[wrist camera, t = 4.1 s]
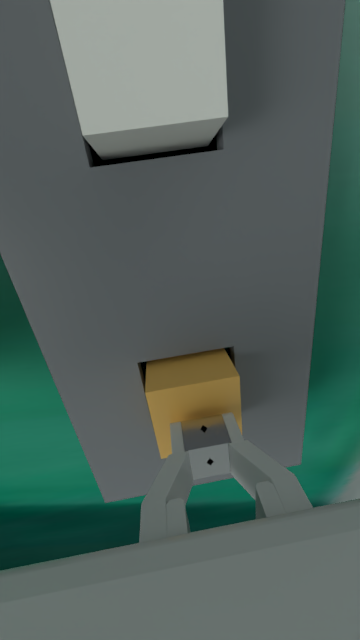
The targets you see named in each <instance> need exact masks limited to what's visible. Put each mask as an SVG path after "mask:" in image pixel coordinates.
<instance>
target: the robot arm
mask: <svg viewBox="0 0 360 640" xmlns="http://www.w3.org/2000/svg"><path fill="white" fill-rule="evenodd" d="M170 434H171V447H172V454H170V455H168V457H167V459H166V461H165V463H164V464H163V466H162V468H161V470H160V472H159V473H158V475H157V477H156V479H155V481H154V482H153V484H152V486H151V488H150V490H149V491H148V493H147V495H146V497H145V499H144V500H143V502H142V504H141V521H140V540H139V543H137V544H132V545H127V546H122V547H117V548H112V549H107V550H102V551H97V552H92V553H87V554H82V555H77V556H72V557H67V558H62V559H57V560H52V561H47V562H42V563H37V564H32V565H27V566H22V567H17V568H12V569H7V570H2V571H0V640H360V499H356V500H350V501H346V502H341V503H335V504H330V505H325V506H320V507H315V508H313V507H312V505H311V503H310V502H309V500H308V498H307V496H306V494H305V493H304V491H303V489H302V487H301V485H300V484H299V482H298V480H297V478H296V476H295V475H294V474H293V473H291V472H290V471H289V470H287V469H286V468H285V467H283V466H282V465H281V464H279V463H278V462H277V461H275V460H274V459H272V458H271V457H270V456H268V455H267V454H266V453H264V452H263V451H262V450H260V449H259V448H258V447H256V446H255V445H253V444H252V443H251V442H249V441H248V440H245V441H244V439H243V436H242V434H241V431H240V429H239V427H238V424H237V422H236V419H235V417H234V415H233V413H232V412H230V413H224V414H219V415H214V416H209V417H204V418H199V419H193V420H186V421H181V422H175V423H170ZM227 473H231V474H232V476H233V477H234V478H235V479H236V480H237V481H238V482H239V483H240V484H241V485H242V486H243V487H244V488H245V489H246V491H247V492H248V493H249V494H250V495H251V496H252V497H253V498H254V499H255V500H256V520H251V521H246V522H241V523H236V524H231V525H226V526H221V527H216V528H211V529H206V530H201V531H196V532H190V527H189V523H188V518H187V513H186V508H185V504H186V502H187V499H188V496H189V493H190V490H191V487H192V484H193V482H194V481H193V480H196V479H201V478H205V477H209V476H215V475H221V474H227Z"/></svg>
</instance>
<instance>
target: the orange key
mask: <svg viewBox="0 0 360 640" xmlns="http://www.w3.org/2000/svg"><path fill="white" fill-rule="evenodd" d="M145 395H146V399H147V403H148V407H149V411H150V415H151V419H152V423H153V428H154V432H155V436H156V440H157V444H158V448H159V452H160V456H161V459H164V458H167V457H168V455H170V454H172V447H171V434H170V423H175V422H181V421H186V420H193V419H199V418H204V417H209V416H214V415H219V414H224V413H230V412H232V413H233V415H234V417H235V419H236V422H237V424H238V427H239V429H240V431H241V434H242V417H241V395H240V376H239V374H238V372H237V370H236V368H235V367H234V365H233V363H232V361H231V360H230V358H229V356H228V354H227V352H226V351H225V349H224V348H220V349H215V350H209V351H203V352H197V353H192V354H186V355H180V356H174V357H168V358H163V359H157V360H151V361H147V364H146V384H145Z"/></svg>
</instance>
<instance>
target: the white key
mask: <svg viewBox="0 0 360 640" xmlns="http://www.w3.org/2000/svg"><path fill="white" fill-rule="evenodd" d="M50 3H51V7H52V11H53V15H54V19H55V24H56V28H57V32H58V36H59V40H60V44H61V48H62V52H63V57H64V61H65V65H66V69H67V73H68V77H69V81H70V85H71V90H72V94H73V98H74V102H75V106H76V110H77V114H78V118H79V123H80V127H81V131H82V135H83V137H84V138H85V139H86V140H87V142H88V143H89V144H90V145H91V146H92V148H93V149H94V150H95V151H96V153H97V154H98V155H99V156H100V157H101V159H102V160H108V159H115V158H123V157H130V156H137V155H145V154H152V153H160V152H167V151H175V150H182V149H189V148H197V147H204V146H208V145H209V143H210V142H211V140H212V139H213V138H214V136H215V135H216V133H217V132H218V131H219V129H220V128H221V126H222V125H223V123H224V122H225V121H226V119H227V118H228V100H227V77H226V54H225V32H224V9H223V0H50Z"/></svg>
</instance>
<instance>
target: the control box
mask: <svg viewBox="0 0 360 640" xmlns="http://www.w3.org/2000/svg"><path fill="white" fill-rule="evenodd" d="M223 9H224V32H225V54H226V77H227V100H228V118H227V119H226V121H225V122H224V123H223V125H222V126H221V128H220V129H219V131H218V132H217V133H216V139H217V150H216V151H208V152H201V153H194V154H186V155H179V156H172V157H164V158H157V159H150V160H142V161H135V162H127V163H120V164H113V165H105V166H98V167H94V164H93V159H92V155H91V151H90V147H89V143H88V142H87V140H86V139H85V138H84V137H83V135H82V131H81V127H80V123H79V118H78V114H77V110H76V106H75V102H74V98H73V94H72V90H71V85H70V81H69V77H68V73H67V69H66V65H65V61H64V57H63V52H62V48H61V44H60V40H59V36H58V32H57V28H56V24H55V19H54V15H53V11H52V7H51V3H50V0H0V254H1V256H2V259H3V261H4V264H5V266H6V268H7V271H8V273H9V275H10V278H11V280H12V283H13V285H14V287H15V290H16V292H17V294H18V297H19V299H20V302H21V304H22V306H23V309H24V311H25V313H26V316H27V318H28V320H29V323H30V325H31V328H32V330H33V332H34V335H35V337H36V339H37V342H38V344H39V347H40V349H41V351H42V354H43V356H44V358H45V361H46V363H47V366H48V368H49V370H50V373H51V375H52V377H53V380H54V382H55V384H56V387H57V389H58V392H59V394H60V396H61V399H62V401H63V403H64V406H65V408H66V411H67V413H68V415H69V418H70V420H71V422H72V425H73V427H74V430H75V432H76V434H77V437H78V439H79V441H80V444H81V446H82V449H83V451H84V453H85V456H86V458H87V460H88V463H89V465H90V467H91V470H92V472H93V475H94V477H95V479H96V482H97V484H98V486H99V489H100V491H101V494H102V496H103V498H104V501H105V503H107V502H112V501H117V500H122V499H127V498H132V497H138V496H143V495H147V493H148V491H149V490H150V488H151V486H152V484H153V482H154V481H155V479H156V477H157V475H158V473H159V472H160V470H161V468H162V466H163V464H164V463H165V461H166V459H167V458H164V459H161V456H160V452H159V448H158V444H157V440H156V436H155V432H154V428H153V423H152V419H151V415H150V411H149V407H148V403H147V399H146V395H145V384H146V383H145V379H144V375H143V370H142V366H141V362H145V361H151V360H157V359H163V358H168V357H174V356H180V355H186V354H192V353H197V352H203V351H209V350H215V349H220V348H226V347H229V351H230V360H231V361H232V363H233V365H234V367H235V368H236V370H237V372H238V374H239V376H240V395H241V417H242V436H243V439H244V441H245V440H248V441H249V442H251V443H252V444H253V445H255V446H256V447H258V448H259V449H260V450H262V451H263V452H264V453H266V454H267V455H268V456H270V457H271V458H272V459H274V460H275V461H277V462H278V463H279V464H281V465H282V466H283V467H290V466H295V465H300V464H301V458H302V447H303V437H304V427H305V416H306V406H307V395H308V385H309V374H310V364H311V354H312V343H313V333H314V322H315V312H316V302H317V291H318V281H319V270H320V260H321V250H322V239H323V229H324V218H325V208H326V198H327V187H328V177H329V166H330V156H331V145H332V135H333V125H334V114H335V104H336V93H337V83H338V73H339V62H340V52H341V41H342V31H343V21H344V10H345V0H223ZM229 478H234V477H233V476H232V474H231V473H227V474H221V475H215V476H209V477H205V478H201V479H196V480H193V481H194V482H193V484H192V486H193V485H198V484H204V483H209V482H214V481H219V480H224V479H229Z"/></svg>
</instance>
